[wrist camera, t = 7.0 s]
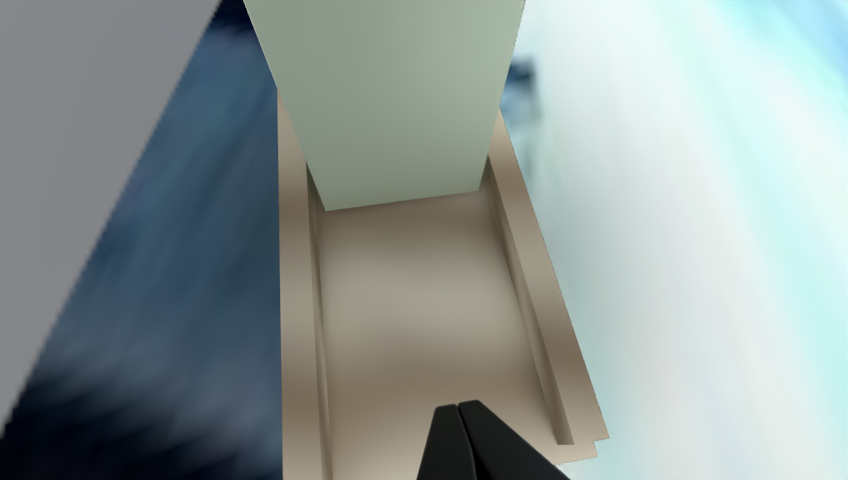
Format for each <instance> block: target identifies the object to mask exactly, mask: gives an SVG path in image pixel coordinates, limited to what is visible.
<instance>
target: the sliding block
mask: <svg viewBox="0 0 848 480" xmlns="http://www.w3.org/2000/svg"><path fill="white" fill-rule="evenodd" d="M244 1H245V4H246V6H247V9H248V12H249V14H250V17H251V19H252V22H253V25H254V27H255V30H256V32H257V35H258V37H259V40H260V43H261V45H262V48H263V50H264V53H265V56H266V58H267V61H268V63H269V66H270V69H271V71H272V74H273V76H274V79H275V81H276V84H277V87H278V89H279V92H280V94H281V97H282V100H283V102H284V105H285V107H286V110H287V113H288V115H289V118H290V120H291V123H292V125H293V128H294V131H295V133H296V136H297V138H298V141H299V144H300V146H301V149H302V151H303V154H304V157H305V159H306V162H307V164H308V167H309V169H310V172H311V175H312V177H313V180H314V182H315V185H316V188H317V190H318V193H319V195H320V198H321V201H322V203H323V206H324V208H325V211H331V210H338V209H346V208H353V207H361V206H368V205H376V204H383V203H391V202H398V201H405V200H413V199H420V198H428V197H435V196H443V195H450V194H458V193H465V192H472V191H479V187H480V183H481V179H482V175H483V171H484V167H485V163H486V159H487V155H488V151H489V147H490V142H491V138H492V134H493V130H494V126H495V122H496V118H497V114H498V110H499V106H500V102H501V98H502V94H503V90H504V86H505V82H506V78H507V74H508V70H509V66H510V62H511V58H512V54H513V50H514V46H515V42H516V38H517V33H518V29H519V25H520V21H521V17H522V13H523V9H524V5H525V1H526V0H244Z"/></svg>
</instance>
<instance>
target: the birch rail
mask: <svg viewBox="0 0 848 480" xmlns="http://www.w3.org/2000/svg"><path fill="white" fill-rule="evenodd" d="M277 104H278V172H279V241H280V309H281V377H282V446H283V480H416V479H417V475H418V471H419V467H420V463H421V459H422V456H423V452H424V448H425V444H426V440H427V436H428V433H429V429H430V425H431V421H432V417H433V413H434V410H435V408H436V407H437V406H441V405H447V404H456V405H457V406H458V403H459V402H464V401H469V400H475V399H477V400H479V401H481V402H482V403H483V404H484V405H485V406H487V407H488V408H489V409H490V410H491V411H492V412H493V413H495V414H496V415H497V416H498V417H499V418H500V419H501V420H503V421H504V422H505V423H506V424H507V425H508V426H510V427H511V428H512V429H513V430H514V431H515V432H516V433H518V434H519V435H520V436H521V437H522V438H523V439H524V440H526V441H527V442H528V443H529V444H530V445H531V446H533V447H534V448H535V449H536V450H537V451H538V452H539V453H541V454H542V455H543V456H544V457H545V458H546V459H547V460H549V461H550V462H551V463H552V464H553V465H557V464H562V463H567V462H572V461H577V460H582V459H587V458H592V457H597V456H598V455H597V452H596V449H595V446H594V443H593V441H597V440H603V439H608V438H609V435H608V432H607V429H606V426H605V423H604V420H603V417H602V414H601V411H600V408H599V405H598V402H597V399H596V396H595V393H594V390H593V387H592V384H591V381H590V378H589V375H588V372H587V369H586V366H585V363H584V360H583V357H582V354H581V351H580V348H579V345H578V342H577V339H576V336H575V333H574V330H573V327H572V324H571V321H570V318H569V315H568V312H567V309H566V306H565V303H564V300H563V297H562V294H561V291H560V288H559V285H558V282H557V279H556V276H555V273H554V270H553V267H552V264H551V261H550V258H549V255H548V252H547V249H546V246H545V243H544V240H543V237H542V234H541V231H540V228H539V225H538V222H537V219H536V216H535V213H534V210H533V207H532V204H531V201H530V198H529V195H528V192H527V189H526V186H525V183H524V180H523V177H522V174H521V171H520V168H519V165H518V162H517V159H516V156H515V153H514V150H513V147H512V144H511V141H510V138H509V135H508V132H507V129H506V126H505V123H504V120H503V117H502V114H501V111H500V108H499V110H498V114H497V118H496V122H495V126H494V130H493V134H492V138H491V142H490V147H489V151H488V155H487V159H486V163H485V167H484V171H483V175H482V179H481V183H480V187H479V191H472V192H465V193H458V194H450V195H443V196H435V197H428V198H420V199H413V200H405V201H398V202H391V203H383V204H376V205H368V206H361V207H353V208H346V209H338V210H331V211H325V208H324V206H323V203H322V201H321V198H320V195H319V193H318V190H317V188H316V185H315V182H314V180H313V177H312V175H311V172H310V169H309V167H308V164H307V162H306V159H305V157H304V154H303V151H302V149H301V146H300V144H299V141H298V138H297V136H296V133H295V131H294V128H293V125H292V123H291V120H290V118H289V115H288V113H287V110H286V107H285V105H284V102H283V100H282V97H281V94H280V92H279V89H278V87H277Z"/></svg>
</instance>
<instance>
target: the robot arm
mask: <svg viewBox="0 0 848 480" xmlns="http://www.w3.org/2000/svg"><path fill="white" fill-rule="evenodd" d="M416 480H570V479H569V478H568V477H567V476H566V475H565V474H564V473H562V472H561V471H560V470H559V469H558V468H557V467H556V466H554V465H553V464H552V463H551V462H550V461H549V460H547V459H546V458H545V457H544V456H543V455H542V454H541V453H539V452H538V451H537V450H536V449H535V448H534V447H533V446H531V445H530V444H529V443H528V442H527V441H526V440H524V439H523V438H522V437H521V436H520V435H519V434H518V433H516V432H515V431H514V430H513V429H512V428H511V427H510V426H508V425H507V424H506V423H505V422H504V421H503V420H501V419H500V418H499V417H498V416H497V415H496V414H495V413H493V412H492V411H491V410H490V409H489V408H488V407H487V406H485V405H484V404H483V403H482V402H481V401H479V400H477V399H475V400H469V401H464V402H459V403H458V406H457V405H456V404H447V405H441V406H437V407H436V408H435V410H434V413H433V417H432V421H431V425H430V429H429V433H428V436H427V440H426V444H425V448H424V452H423V456H422V459H421V463H420V467H419V471H418V475H417V479H416Z"/></svg>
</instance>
